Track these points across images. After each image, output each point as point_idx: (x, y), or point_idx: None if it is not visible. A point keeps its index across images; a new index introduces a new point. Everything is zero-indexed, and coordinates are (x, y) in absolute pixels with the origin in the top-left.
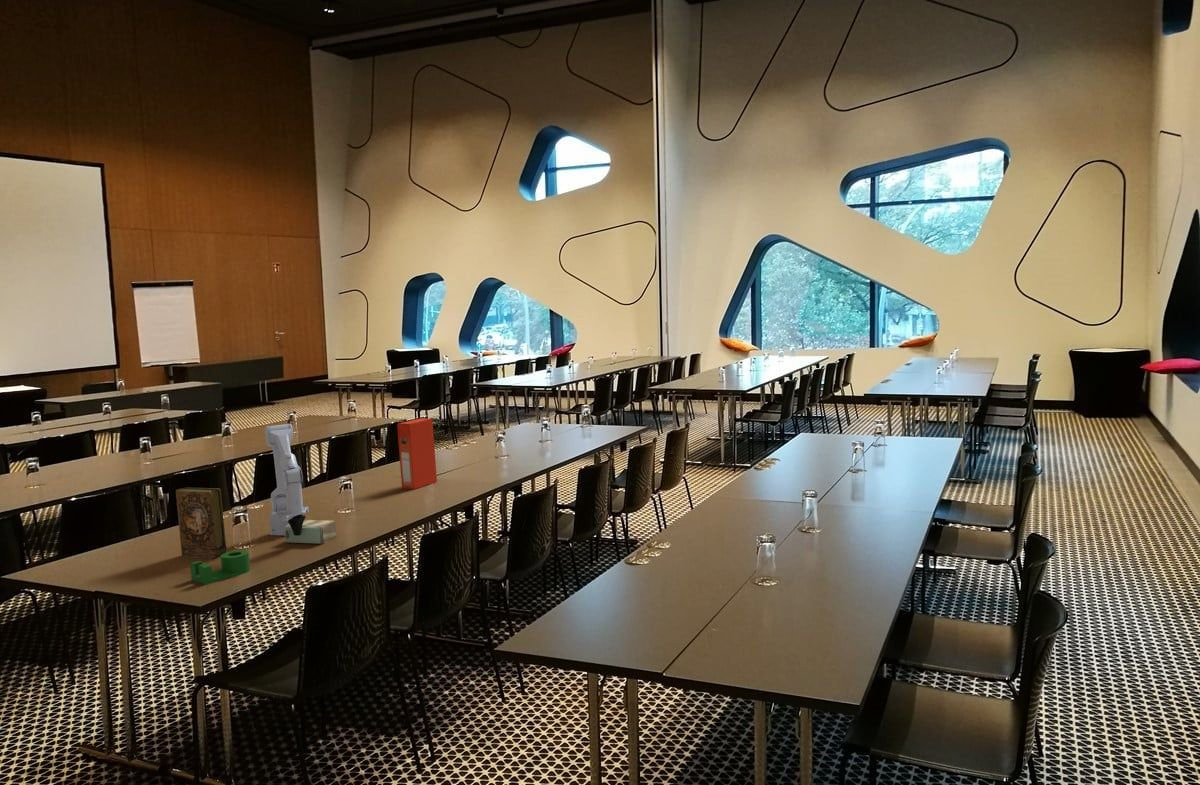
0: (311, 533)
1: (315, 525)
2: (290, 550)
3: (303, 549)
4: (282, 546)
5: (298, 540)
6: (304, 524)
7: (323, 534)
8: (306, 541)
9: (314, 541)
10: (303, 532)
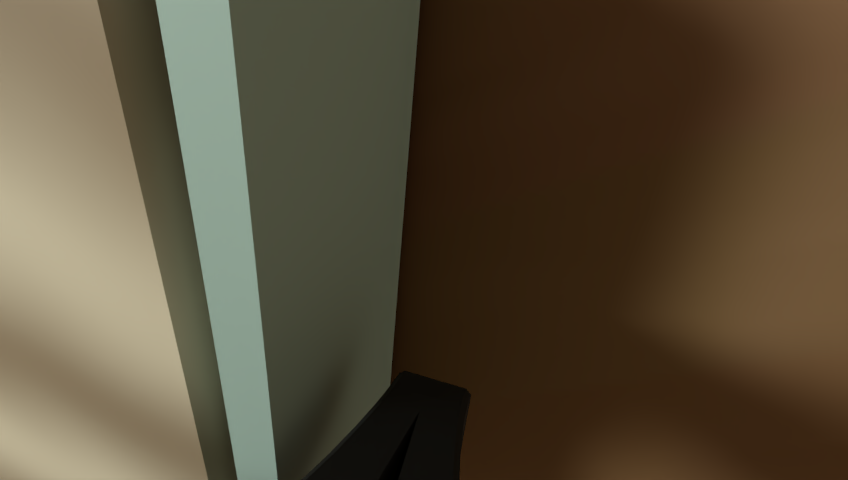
0: (333, 182)
1: (43, 212)
2: (772, 333)
3: (769, 133)
4: (520, 450)
5: (383, 336)
6: (87, 443)
7: None
8: (396, 214)
9: (404, 58)
10: (326, 355)
